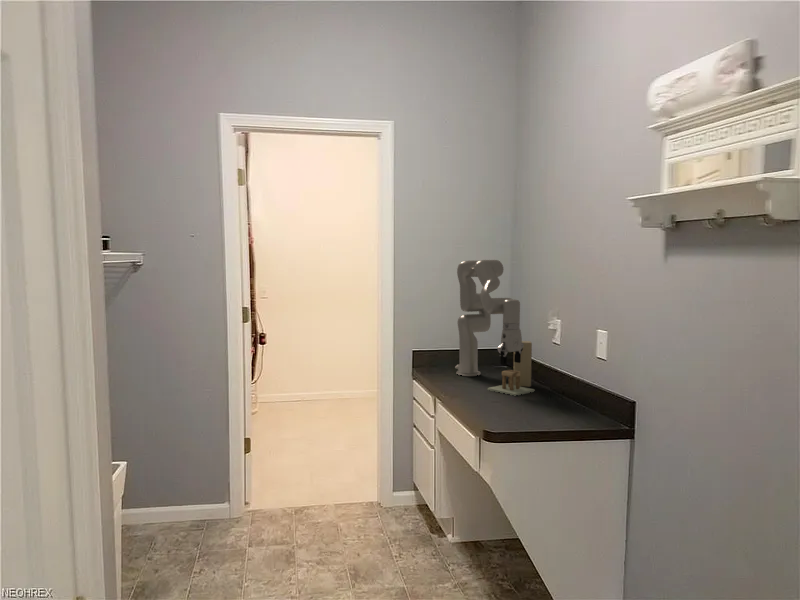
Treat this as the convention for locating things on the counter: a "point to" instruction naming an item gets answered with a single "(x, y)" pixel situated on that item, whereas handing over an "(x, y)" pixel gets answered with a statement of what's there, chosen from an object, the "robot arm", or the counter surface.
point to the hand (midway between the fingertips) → (510, 363)
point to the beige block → (524, 365)
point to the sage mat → (511, 392)
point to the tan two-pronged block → (511, 379)
